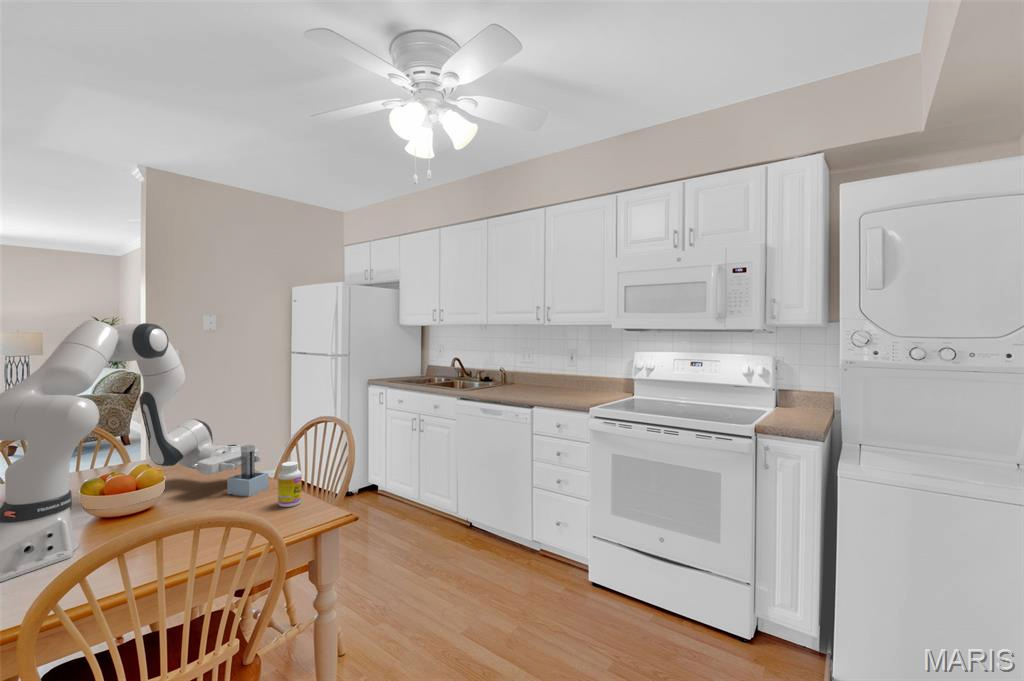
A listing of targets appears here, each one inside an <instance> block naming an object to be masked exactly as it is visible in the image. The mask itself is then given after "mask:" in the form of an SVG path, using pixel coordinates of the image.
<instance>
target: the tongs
mask: <svg viewBox="0 0 1024 681" xmlns="http://www.w3.org/2000/svg"><path fill="white" fill-rule="evenodd" d="M255 448H256V445H253V444H246V445H242V446H241V465H240V468H241V469H240V470H241V471H240V473H241V479H247V480H250V479H252V478H255V472H256V471H255V470H256V469H255V466H256V465H255V463H256V462H255Z"/></svg>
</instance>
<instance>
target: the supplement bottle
mask: <svg viewBox="0 0 1024 681" xmlns="http://www.w3.org/2000/svg"><path fill="white" fill-rule="evenodd" d="M298 468H299V462H298V461H285V462H283V463H281V470H282V471H280V472H279V473H278V476H277V490H278V492H277V503H278V506H279V507H283V508H290V507H291V508H292V507H295V506H298V505H300V503H301V502H302V472H301V470H299V469H298Z"/></svg>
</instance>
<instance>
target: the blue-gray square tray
mask: <svg viewBox="0 0 1024 681" xmlns="http://www.w3.org/2000/svg"><path fill="white" fill-rule="evenodd" d="M226 482H227V483H226V485H227V488H226V489H227V495H230V494H233V495H232V496H238V497H239V496H241V497H249V498H250V497H252V496H255V495H256V494H259V493H260V492H263V491H265V490H268V489H269V472H264V471H263V472H262V471H255V478H252V479H250V480H247V479H241V472H240V473H238V474H236V475H233V476H231V477H228V478H227V479H226Z"/></svg>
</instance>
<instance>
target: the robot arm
mask: <svg viewBox="0 0 1024 681" xmlns="http://www.w3.org/2000/svg"><path fill="white" fill-rule="evenodd" d="M134 361H136V363H137V366H138V370H139V372H140V374H141V377H142V381H143V382H142V383H143V384H142V386H143V388H142V393H141V394H140V397H139V407H140V411H141V412H140V413H141V416H142V421H143V424H144V430H145V432H146V437H147V443H148V444H147V445H148V448H147V449H148V455H149V458H150V460H151V461H152V462H153V463H154V464H156V465H157V466H163V467H173V466H174V467H175V466H176V465H177V464H178V465H180V466H182V467H184V468H188V469H191V470H192V469H193V470H197V472H198V473H200V474H203V475H208V476H210V475H214V474H218V473H220V472H223V471H228V470H229V471H234V470H236V469H238V467H239V466H241V447H242V446H241V444H238V443H237V444H228V445H222V444H221V445H214V444H213V442H214V439H213V432H212V429H211V427H210V426H209V424H208V423H206V422H205V421H202V420H200V419H197V418H189V419H188V420H186V421H185V422H183V423H181V424H180V425H178V426H176V427H175V428H173V429H172V430H170V431H169V432H168V430H167V426H166V420H165V417H164V413H165V409H166V406H167V405H168V403H169V402H170V401H171V400H172V398H173V397H175V395H177V393H178V392H179V391H180V390H181V389H182V387H183V386H184V383H185V381H186V372H185V369H184V366H183V364H182V361H181V359H180V356H179V355H178V353H177V351H176V350H175V348H174V346H173V344H172V342H170V340H169V337H168V333H167V332H166V330H164V329H163V327H161V326H160V325H158V324H155V323H147V322H146V323H145V322H144V323H128V324H125V323H122V324H121V323H120V324H116V325H114V324H113V325H110V324H108V323H106V322H104V321H99V320H89V321H85V322H83V323H81V324H80V325H78V326H77V327H75V328H74V330H72V331H70V333H69V334H67V336H66V337H64V339H63V340H62V341H61V342H60V343H59V344H58V345H57V347H56V348H55V349H54V350H53V352H52V353H51V354H50V355H49V356H48V358H47V359H46V360H45V361H44V362H43V363H42V365H41V366H39V368H38V369H36V370H35V371H34V372H32V373H31V374H30V375H29V376H27V377H26V378H24V379H22V380H21V381H19V382H18V383H16V384H15V385H14V386H12V387H10V388H8V389H6V390H4V391H3V392H0V441H26V442H27V446H26V450H25V453H24V455H23V456H22V457H20V458H18V459H17V460H15V461H13V462H12V463H11V464H10V465H8V467H7V468H6V470H5V472H4V487H5V490H4V492H5V496H4V497H5V501H4V502H3V503H2V505H1V507H0V583H1V582H4V581H7V580H10V579H13V578H16V577H18V576H22V575H25V574H27V573H29V572H33V571H36V570H39V569H41V568H45V567H47V566H50V565H53V564H55V563H58V562H61V561H62V562H63V561H64V560H68V559H70V558H72V556H73V555H74V554H73V552H74V551H75V550H76V549H77V548H78V547H79V546H80V543H79V540H78V539H77V536H76V533H75V530H74V525H73V521H72V513H71V510H72V506H73V500H72V499H73V496H72V495H73V494H72V490H70V466H71V465H70V463H71V460H72V456H73V453H74V451H75V449H76V447H77V445H79V443H81V441H82V440H83V439H84V438H85V437H87V436H88V435H89V434H91V433H92V432H93V431H94V430H95V428H96V427H97V425H98V423H99V420H100V411H99V408H98V407H99V406H97V404H96V403H95V402H94V401H93V400H92V399H90V398H86V397H81V396H79V395H81V394H82V393H84V392H86V391H89V389H91V387H92V386H94V384H95V382H96V381H97V379H98V378H99V377H100V374H101V373H102V372H103V370H104V369H105V367H106V366H107V364H108V363H111V362H134ZM77 395H78V396H77ZM259 462H261V456H260V450H259V448H257V447H255V463H259Z"/></svg>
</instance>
